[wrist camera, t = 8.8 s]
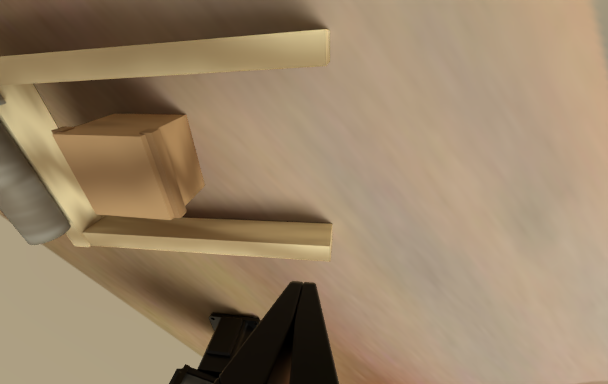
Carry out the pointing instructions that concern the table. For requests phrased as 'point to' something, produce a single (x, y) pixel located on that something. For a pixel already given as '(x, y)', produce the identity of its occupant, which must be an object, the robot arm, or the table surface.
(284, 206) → the table surface
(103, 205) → the box
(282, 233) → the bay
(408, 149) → the table surface
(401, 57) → the table surface
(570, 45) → the table surface
